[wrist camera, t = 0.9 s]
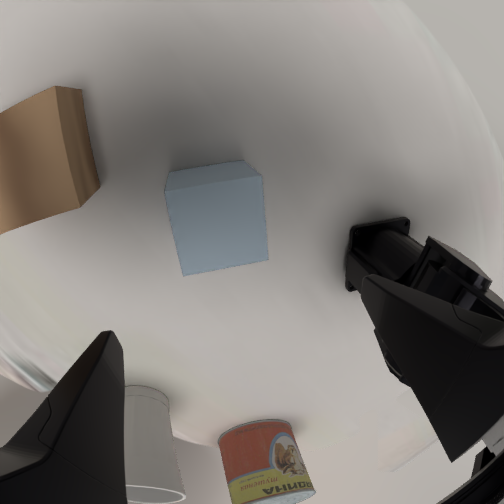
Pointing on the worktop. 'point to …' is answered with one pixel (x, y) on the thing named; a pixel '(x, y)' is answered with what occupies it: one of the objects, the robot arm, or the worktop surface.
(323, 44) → the worktop surface
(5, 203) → the walnut block
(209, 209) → the cube
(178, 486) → the cup
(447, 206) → the worktop surface
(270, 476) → the canned food
